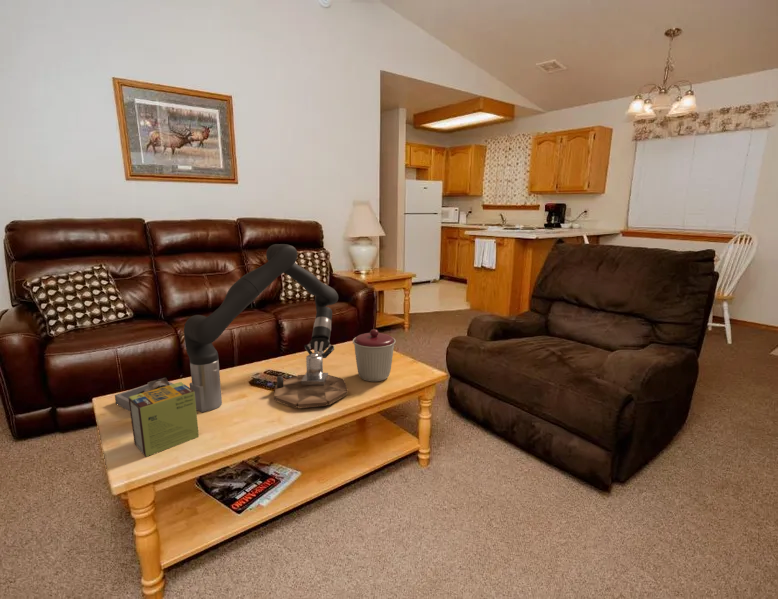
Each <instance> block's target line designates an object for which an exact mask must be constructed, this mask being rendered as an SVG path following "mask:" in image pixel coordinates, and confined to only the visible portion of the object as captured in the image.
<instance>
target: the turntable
mask: <svg viewBox="0 0 778 599" xmlns="http://www.w3.org/2000/svg"><path fill="white" fill-rule="evenodd" d="M304 376H305V374H298V375H294V376H291V377H289V378H287V379H285V380H284V375H278V376H276V384H275V385H274V394H273V398H274V399H273V400H275V402H276V403H277V402H278V403H280V404H283V405H286V406H289V407H292V408H295V409H296V408H298V409H305V408H315V407H316V408H317V407H325V406H327V405H328V406H330V405H331V404H334V403H335V402H337V401H339V400H340V399H342V398H344V397H346V396H347V395H348V393H349V391H348V387H347V384H346V380H345V379H343V378H341V377H338V376H334V375H332V374H331V375H330V374H328V378H327V380H326V382H325V384H324V385H301V380H302V379H303V377H304Z"/></svg>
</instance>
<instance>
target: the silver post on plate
mask: <svg viewBox="0 0 778 599" xmlns="http://www.w3.org/2000/svg"><path fill="white" fill-rule="evenodd" d="M323 359H324V358H323V356H322V355H320V354H317V353H314V352H312V354H310V355H309V354H307V355H306V356H305V360H306V361H305V363H306V366H305V367H306V372H305V374H304V375H305V376H304V377H303V379H302V380H301V385H324V384H325V382H326V380H327V378H328V375H329V372H324V363H323V362H324V361H323Z"/></svg>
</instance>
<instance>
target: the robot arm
mask: <svg viewBox="0 0 778 599" xmlns="http://www.w3.org/2000/svg"><path fill="white" fill-rule="evenodd" d="M266 259H267V262H266V263H264V264H263V265H261V266H260V267H259V266H258V267H257V268H255V269H253V270H251V271H249V272H247V273H245V274H244V275H243V276H241V277H240V278H239V279H238V280H237V281H235V282H234V283H233V284H232V286H230V287H229V289H228V291H227V293H226V295H225V298H224V300H223V301H222V303H221V305H220V306H219V307H218V308H216V309H215V310H214V311H213V312H212V313H211V314H209V315H208V316H205V315H201V314H195V315H192V316H190V317H189V318H188V319H187V320H186V321H185V323H184V327H183V336H184V345H185V351H186V353H187V356H188V358H189V367H190V375H191V376H190V378H191V382H189V388H191V389H192V390H194V391H195V402H196V411H197V412H200V413H204V412H209V411H213V410H216V409H218V408H220V407H221V406H222V405H223V400H222V399H223V398H222V386H221V375H220V373H221V372H220V363H219V353H218V351H217V349H216V348H215V346H214V344H213V343H214V342H216V340H218V339H219V337H220V336H221V335H222V334H223V333H224V332H225V330H226V329H227V328H228V327H229V325H230V324H231V323H233V321H234V320H235V319H236V318H237V317H238V316H239V315H240V314H241V313H243V311H244V310H245V309H246V308H247V307H248V306H249V305H250V304H251V303H253V302H254V301H255V300H256V299H257V298H258V297H259V296H260V295H261V294H262V292H264V291H265V290H266V289H267V288H268V287H270V285H271V284H272V283H273V282H275V280H276V279H277V278H278V277H280V276H281V275H282V274H284V273H285V274H286V275H287V276H289V277H290V278H291V279H293V280H294V281H295V282H296V283H297V284H299V285H300V286H301V287H302V288H303V289H304V290H306V291H307V292H308V293H309V294H310V295H312V296H315V297H314V304H315V311H316V313H315V319H314V322H313V328H312V333H311V334H312V335H311V340H310V341H309V343H308V344H304V349H305V350H306V352H307V353H308V355H310V354H312V353H317V354H320V355H322V356H323V359H326V358H328V357H329V355H331V354H332V353H333V351H334V350H335V347H334V345H333V344H331V342H330V339H331V332H332V321H333V320H332V319H333V310H332V308H330V307H329V306H331V305H335V304H336V303H337V302H338V300H339V294H338V292H337V291H336V290H335V288H334V287H331V286H329V285H327V284H326V283H324V282H322V281H321V280H319V278H318V277H317V276H316V275H314V273H312V272H310V271H309V270H307V269H305V268H304V267H302V266H300V265H299V264H297V263H296V261H297V259H298V250H297V249H296V247H294V246H293V245H290V244H287V243H286V244H285V243H280V244H279V243H275V244H272V245H270V246H269V247H268V248H267V250H266ZM311 349H313V351H314V352H312V350H311Z"/></svg>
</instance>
